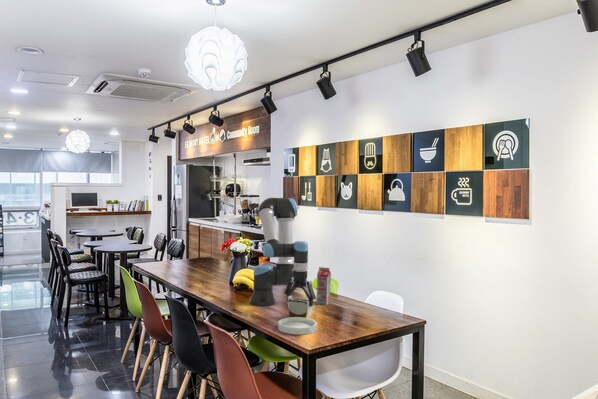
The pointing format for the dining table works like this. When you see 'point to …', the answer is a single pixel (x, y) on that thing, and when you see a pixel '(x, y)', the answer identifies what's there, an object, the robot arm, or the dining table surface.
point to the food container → (297, 307)
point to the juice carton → (323, 286)
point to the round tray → (297, 325)
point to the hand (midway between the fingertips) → (299, 310)
